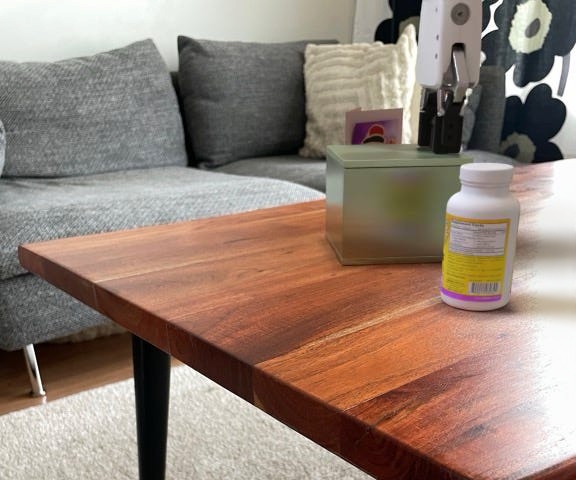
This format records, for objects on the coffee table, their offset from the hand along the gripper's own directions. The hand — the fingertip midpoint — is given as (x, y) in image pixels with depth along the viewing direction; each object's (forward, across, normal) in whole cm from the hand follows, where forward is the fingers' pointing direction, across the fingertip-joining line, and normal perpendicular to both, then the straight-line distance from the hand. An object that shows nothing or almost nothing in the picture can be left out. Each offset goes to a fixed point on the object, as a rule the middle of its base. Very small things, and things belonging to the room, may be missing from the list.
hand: (438, 148), depth 85 cm
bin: (+12, 0, +6) cm, 13 cm away
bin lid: (+1, 0, +5) cm, 5 cm away
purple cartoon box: (+12, +21, +6) cm, 25 cm away
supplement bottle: (+12, -22, +2) cm, 25 cm away
